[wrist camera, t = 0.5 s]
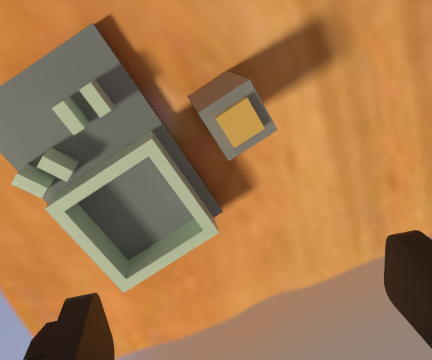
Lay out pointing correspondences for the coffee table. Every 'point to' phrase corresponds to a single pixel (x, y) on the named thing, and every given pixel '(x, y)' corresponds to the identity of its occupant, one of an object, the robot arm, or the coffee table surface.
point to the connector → (233, 113)
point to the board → (93, 141)
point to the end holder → (102, 246)
